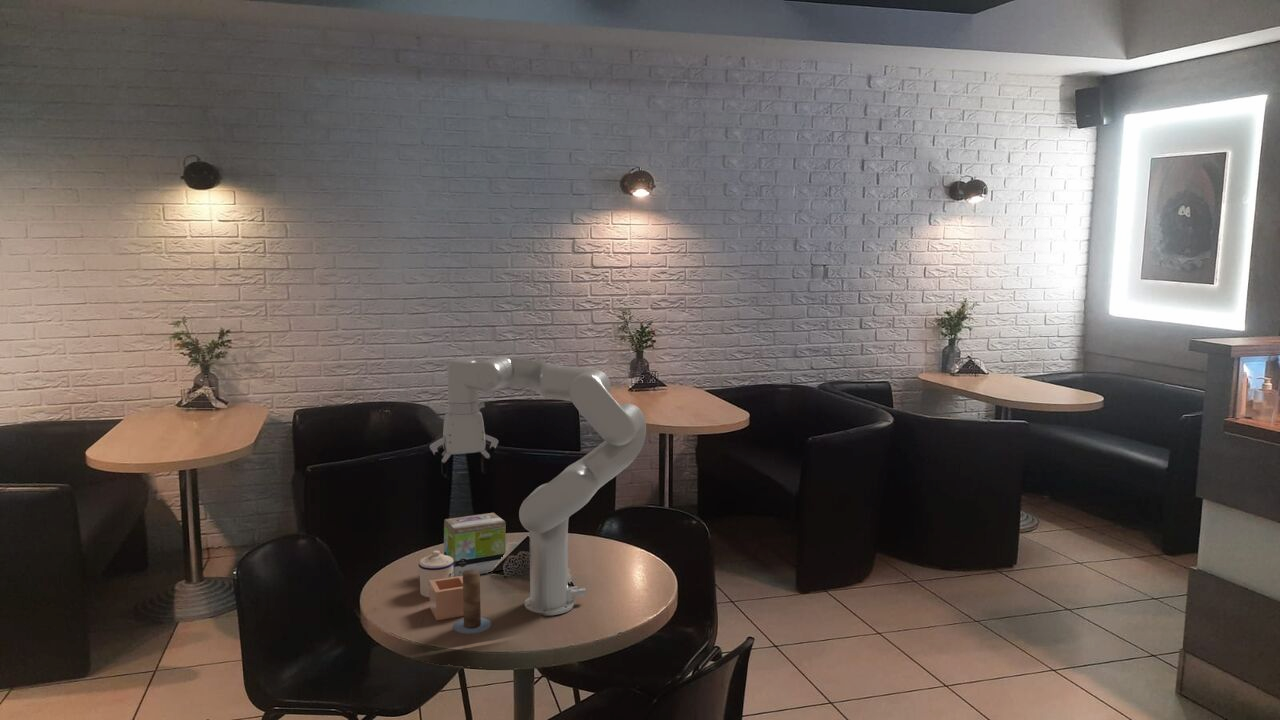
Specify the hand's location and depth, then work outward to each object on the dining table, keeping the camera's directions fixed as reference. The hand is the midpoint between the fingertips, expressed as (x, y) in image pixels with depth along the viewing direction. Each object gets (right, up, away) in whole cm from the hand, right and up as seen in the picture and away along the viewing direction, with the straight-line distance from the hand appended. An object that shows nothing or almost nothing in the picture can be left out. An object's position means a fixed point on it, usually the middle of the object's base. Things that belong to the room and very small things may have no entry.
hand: (465, 474), depth 222 cm
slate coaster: (+4, -35, -13) cm, 38 cm away
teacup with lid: (-9, -33, +10) cm, 35 cm away
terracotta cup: (-3, -34, -4) cm, 34 cm away
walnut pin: (+4, -34, -13) cm, 37 cm away
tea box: (-2, -31, +26) cm, 40 cm away
